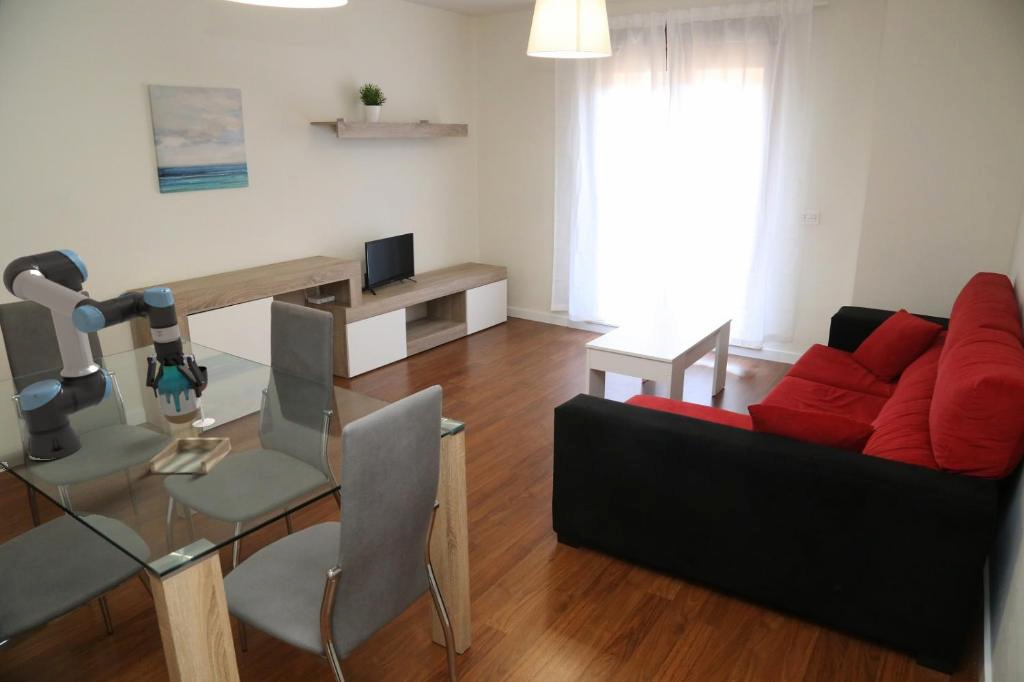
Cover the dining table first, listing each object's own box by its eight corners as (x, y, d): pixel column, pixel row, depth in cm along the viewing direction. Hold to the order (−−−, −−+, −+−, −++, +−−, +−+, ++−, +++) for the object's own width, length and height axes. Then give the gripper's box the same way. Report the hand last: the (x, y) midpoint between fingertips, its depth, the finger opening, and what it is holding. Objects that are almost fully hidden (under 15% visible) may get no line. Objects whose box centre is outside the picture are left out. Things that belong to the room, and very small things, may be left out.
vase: (188, 429, 210) (176, 370, 204) (157, 427, 213) (144, 369, 207) (209, 415, 220) (198, 358, 214) (179, 413, 222) (168, 357, 216)
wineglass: (221, 419, 251) (211, 367, 245) (202, 429, 244) (191, 376, 238) (205, 416, 255) (195, 365, 248) (185, 425, 247) (175, 373, 241)
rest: (151, 473, 215) (148, 461, 213) (179, 448, 230) (177, 437, 229) (207, 473, 213) (205, 462, 212) (232, 448, 229) (230, 437, 228)
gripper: (122, 343, 205) (138, 412, 212) (197, 342, 204) (210, 411, 210) (137, 335, 213) (152, 402, 220) (210, 334, 211) (222, 401, 218)
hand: (180, 407), depth 215 cm, fingers closed on vase, 10 cm apart
